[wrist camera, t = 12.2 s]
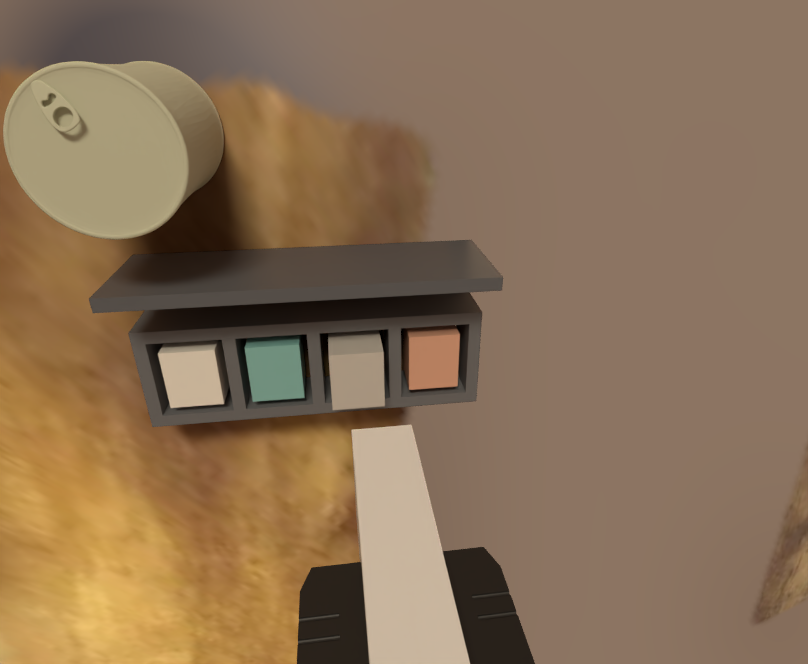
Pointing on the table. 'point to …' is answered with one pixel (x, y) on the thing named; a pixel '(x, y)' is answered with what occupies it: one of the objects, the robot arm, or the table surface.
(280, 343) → the key
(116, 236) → the can
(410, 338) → the key
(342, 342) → the grey block
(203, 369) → the key
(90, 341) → the table surface
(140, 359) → the key frame
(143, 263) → the screen
